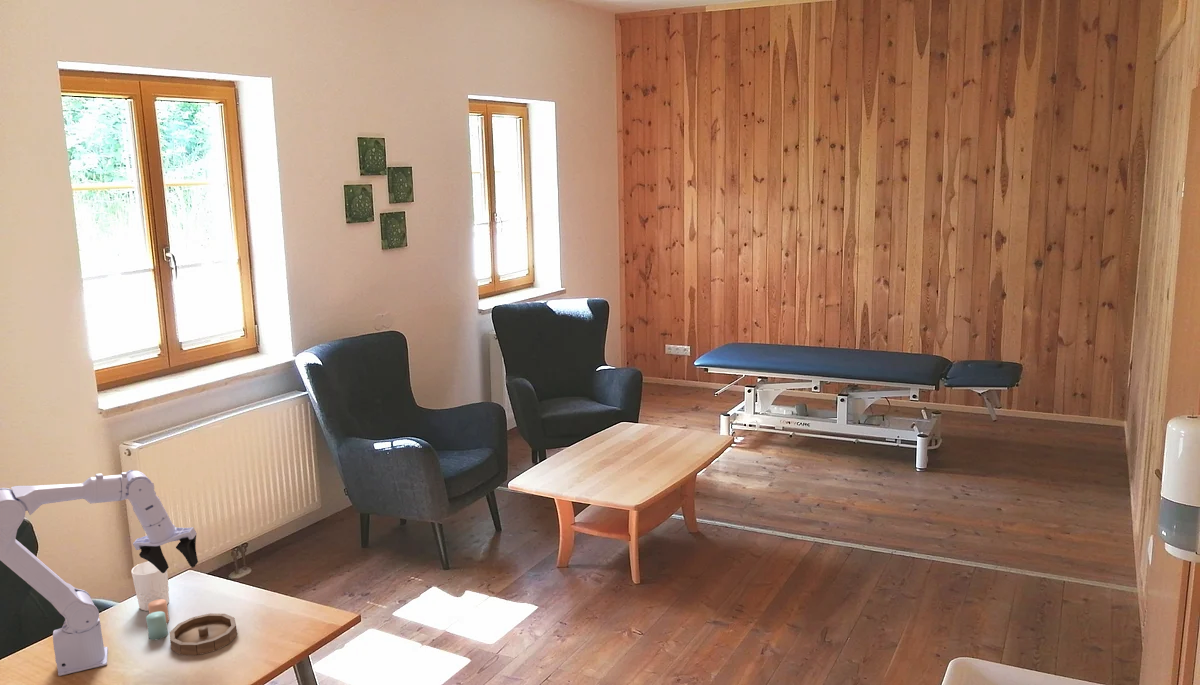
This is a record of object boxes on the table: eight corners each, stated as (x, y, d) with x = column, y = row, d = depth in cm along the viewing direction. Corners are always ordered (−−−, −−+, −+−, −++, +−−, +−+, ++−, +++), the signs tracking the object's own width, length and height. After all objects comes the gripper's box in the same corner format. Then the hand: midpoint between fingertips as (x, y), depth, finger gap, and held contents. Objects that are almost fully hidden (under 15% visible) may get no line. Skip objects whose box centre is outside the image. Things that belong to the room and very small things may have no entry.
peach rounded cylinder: (151, 628, 227) (148, 608, 225) (150, 620, 230) (147, 601, 229) (169, 624, 228) (166, 604, 227) (168, 616, 232) (166, 597, 231)
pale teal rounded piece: (149, 641, 221) (146, 621, 220) (148, 633, 224) (145, 613, 223) (168, 637, 222) (165, 617, 221) (167, 629, 226) (164, 609, 225)
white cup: (158, 613, 233) (152, 575, 231) (129, 611, 235) (124, 573, 233) (178, 597, 241) (173, 561, 239) (150, 595, 243) (145, 559, 240)
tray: (172, 661, 212) (170, 650, 211) (170, 632, 224) (168, 622, 224) (239, 644, 218) (238, 634, 217) (233, 617, 230) (232, 608, 230)
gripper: (191, 503, 219) (215, 551, 225) (134, 515, 222) (160, 562, 227) (176, 521, 213) (202, 570, 218) (119, 533, 215) (145, 581, 220)
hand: (180, 567), depth 222 cm, fingers open, 7 cm apart
